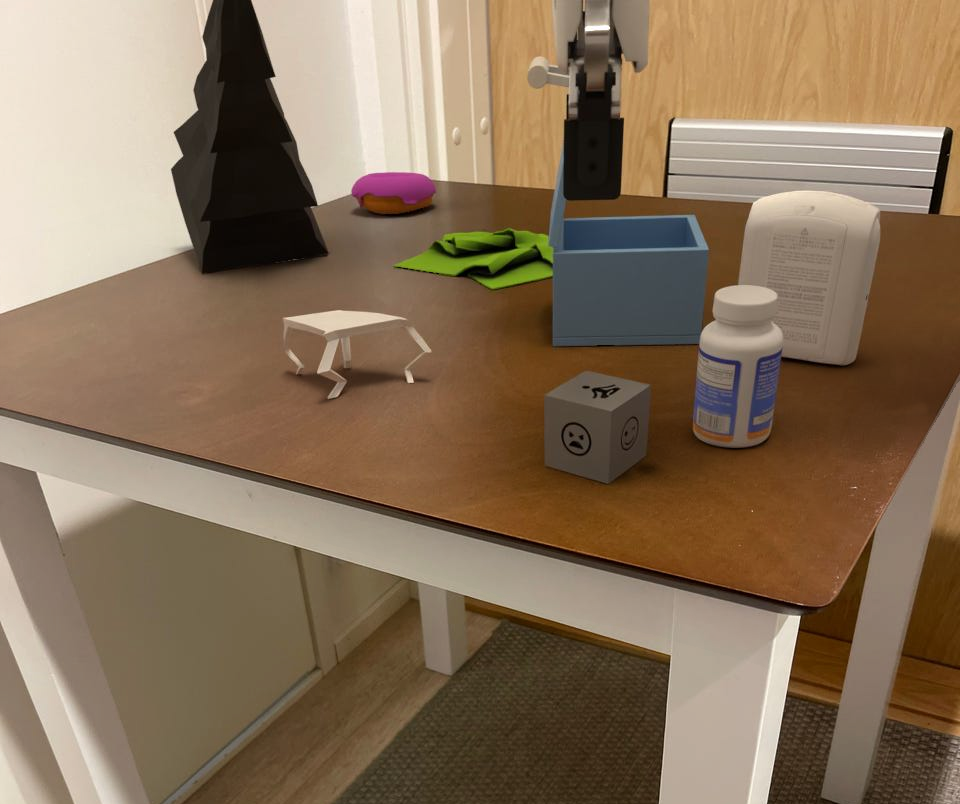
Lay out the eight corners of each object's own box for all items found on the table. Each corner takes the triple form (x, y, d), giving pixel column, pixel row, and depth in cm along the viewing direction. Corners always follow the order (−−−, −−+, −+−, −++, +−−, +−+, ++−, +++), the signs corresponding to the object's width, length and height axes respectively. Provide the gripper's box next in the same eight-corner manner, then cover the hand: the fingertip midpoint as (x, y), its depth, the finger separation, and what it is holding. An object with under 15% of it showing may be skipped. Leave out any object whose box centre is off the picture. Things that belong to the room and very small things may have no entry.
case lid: (590, 43, 80) (535, 34, 80) (592, 59, 71) (530, 48, 71) (559, 213, 88) (509, 205, 88) (557, 248, 79) (502, 238, 79)
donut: (449, 206, 128) (447, 168, 126) (395, 222, 122) (392, 183, 119) (394, 197, 134) (391, 161, 131) (340, 213, 128) (335, 175, 125)
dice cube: (608, 484, 63) (611, 411, 60) (544, 465, 65) (544, 395, 62) (646, 455, 66) (651, 384, 63) (584, 438, 69) (585, 370, 66)
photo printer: (862, 353, 79) (893, 190, 72) (850, 371, 76) (882, 203, 69) (739, 337, 84) (757, 182, 76) (723, 353, 81) (740, 193, 73)
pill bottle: (758, 415, 70) (777, 278, 65) (779, 448, 66) (801, 304, 60) (684, 420, 70) (695, 283, 65) (700, 452, 66) (714, 308, 60)
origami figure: (284, 407, 76) (273, 345, 73) (287, 368, 82) (277, 310, 79) (436, 393, 76) (432, 331, 74) (427, 356, 83) (423, 298, 80)
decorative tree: (203, 298, 111) (163, 10, 78) (173, 197, 115) (123, -116, 82) (328, 279, 115) (339, -3, 82) (295, 182, 119) (293, -123, 86)
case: (687, 301, 92) (694, 214, 87) (700, 344, 83) (709, 249, 78) (554, 304, 93) (554, 218, 88) (552, 346, 84) (552, 253, 79)
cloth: (629, 267, 102) (630, 243, 100) (433, 299, 96) (431, 274, 94) (547, 226, 117) (547, 204, 116) (374, 252, 111) (372, 229, 110)
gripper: (693, -219, 41) (663, 213, 51) (665, -182, 55) (646, 152, 65) (516, -208, 42) (521, 216, 52) (533, -174, 55) (534, 155, 66)
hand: (591, 180), depth 58 cm, fingers open, 9 cm apart
